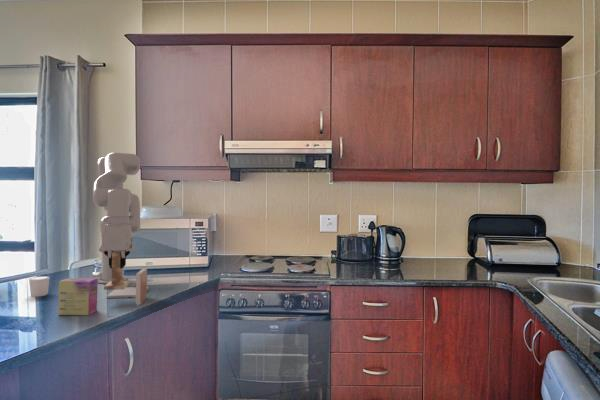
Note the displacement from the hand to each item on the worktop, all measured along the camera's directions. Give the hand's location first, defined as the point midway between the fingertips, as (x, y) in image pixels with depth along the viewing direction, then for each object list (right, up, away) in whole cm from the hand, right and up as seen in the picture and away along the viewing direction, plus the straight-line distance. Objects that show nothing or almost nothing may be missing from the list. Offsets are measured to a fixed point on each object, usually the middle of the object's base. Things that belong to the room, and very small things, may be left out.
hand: (117, 267), depth 138 cm
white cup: (-36, -13, +7) cm, 39 cm away
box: (-7, -14, -14) cm, 21 cm away
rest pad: (-1, -13, +12) cm, 18 cm away
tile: (+9, -14, +1) cm, 16 cm away
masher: (0, -8, 0) cm, 8 cm away
